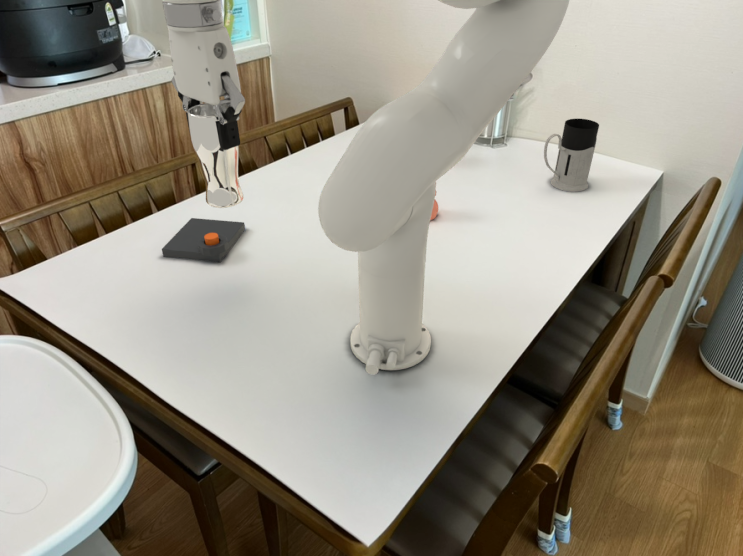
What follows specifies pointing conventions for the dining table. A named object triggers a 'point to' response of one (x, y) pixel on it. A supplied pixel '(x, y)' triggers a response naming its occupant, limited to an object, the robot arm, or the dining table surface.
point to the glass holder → (574, 154)
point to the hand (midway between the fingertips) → (215, 140)
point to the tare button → (211, 239)
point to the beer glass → (214, 157)
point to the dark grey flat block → (203, 240)
